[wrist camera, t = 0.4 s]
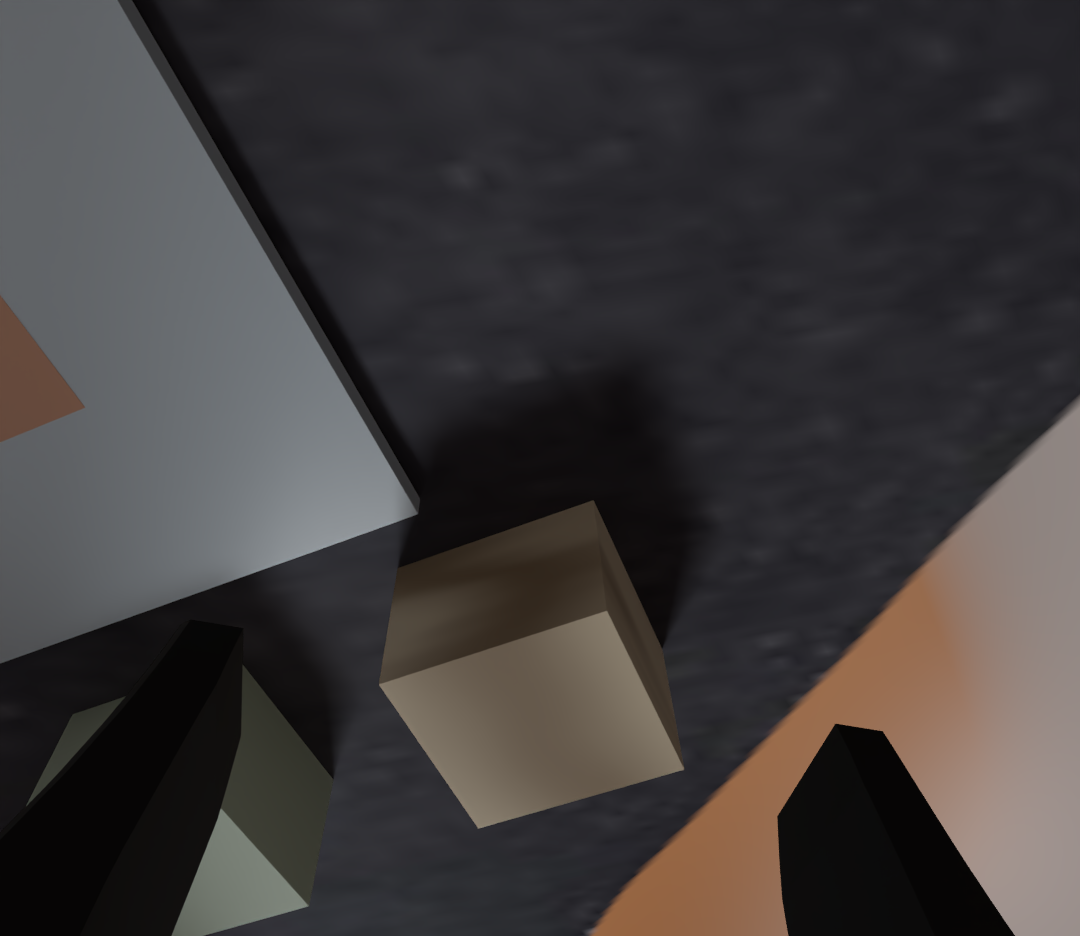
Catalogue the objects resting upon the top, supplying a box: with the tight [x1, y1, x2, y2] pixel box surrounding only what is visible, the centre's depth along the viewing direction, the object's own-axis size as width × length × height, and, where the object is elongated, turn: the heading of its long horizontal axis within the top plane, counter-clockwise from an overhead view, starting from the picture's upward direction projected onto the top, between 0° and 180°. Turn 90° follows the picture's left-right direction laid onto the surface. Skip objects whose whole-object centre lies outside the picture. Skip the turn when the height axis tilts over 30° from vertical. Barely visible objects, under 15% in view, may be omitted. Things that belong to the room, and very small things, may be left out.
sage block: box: [26, 665, 333, 936], centre depth 25 cm, size 5×5×4 cm
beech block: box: [379, 500, 684, 828], centre depth 23 cm, size 5×5×4 cm
